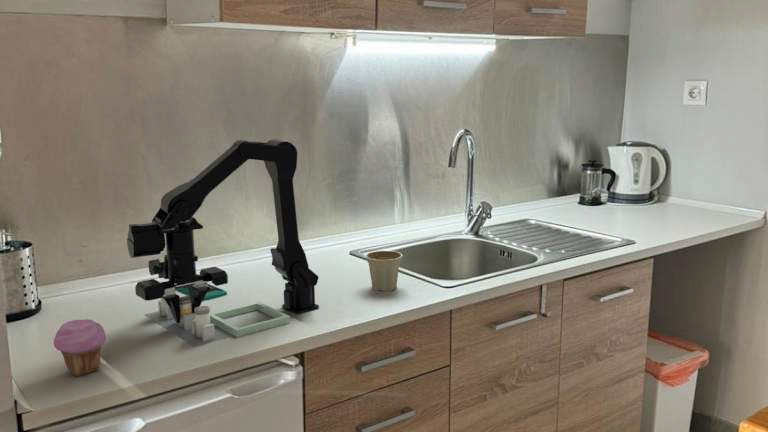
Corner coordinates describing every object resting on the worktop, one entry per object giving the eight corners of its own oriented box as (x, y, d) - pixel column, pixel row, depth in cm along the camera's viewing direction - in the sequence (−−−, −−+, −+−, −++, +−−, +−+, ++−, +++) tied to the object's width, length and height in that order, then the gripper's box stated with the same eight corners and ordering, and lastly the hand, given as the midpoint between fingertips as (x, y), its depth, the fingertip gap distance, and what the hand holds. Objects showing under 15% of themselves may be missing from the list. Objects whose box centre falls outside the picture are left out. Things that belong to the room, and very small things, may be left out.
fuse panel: (178, 311, 169) (177, 294, 168) (230, 342, 150) (229, 322, 149) (144, 319, 164) (143, 301, 163) (194, 352, 145) (193, 332, 144)
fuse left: (172, 311, 165) (170, 286, 164) (178, 315, 163) (176, 289, 162) (159, 314, 163) (157, 289, 162) (165, 318, 161) (163, 292, 160)
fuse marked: (189, 321, 159) (187, 295, 158) (195, 325, 157) (193, 298, 155) (175, 324, 157) (173, 298, 156) (181, 328, 155) (180, 301, 153)
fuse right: (207, 332, 153) (205, 304, 151) (214, 336, 150) (212, 308, 149) (193, 335, 151) (191, 308, 149) (200, 339, 148) (198, 312, 147)
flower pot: (358, 288, 186) (357, 255, 184) (383, 280, 193) (382, 248, 191) (385, 295, 180) (384, 262, 178) (409, 287, 186) (410, 254, 185)
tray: (259, 312, 168) (259, 301, 167) (290, 327, 158) (290, 316, 158) (208, 325, 160) (207, 314, 159) (237, 342, 150) (236, 330, 150)
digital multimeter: (198, 288, 188) (197, 277, 188) (228, 301, 178) (228, 289, 177) (172, 294, 183) (171, 283, 183) (201, 308, 173) (201, 296, 172)
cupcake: (71, 385, 131) (65, 332, 128) (49, 372, 136) (43, 321, 134) (117, 369, 137) (112, 319, 135) (94, 357, 143) (89, 309, 141)
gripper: (203, 237, 165) (207, 302, 168) (122, 251, 153) (128, 321, 157) (227, 246, 157) (231, 315, 160) (143, 261, 145) (149, 335, 148)
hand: (185, 321), depth 157 cm, fingers closed on fuse marked, 3 cm apart
